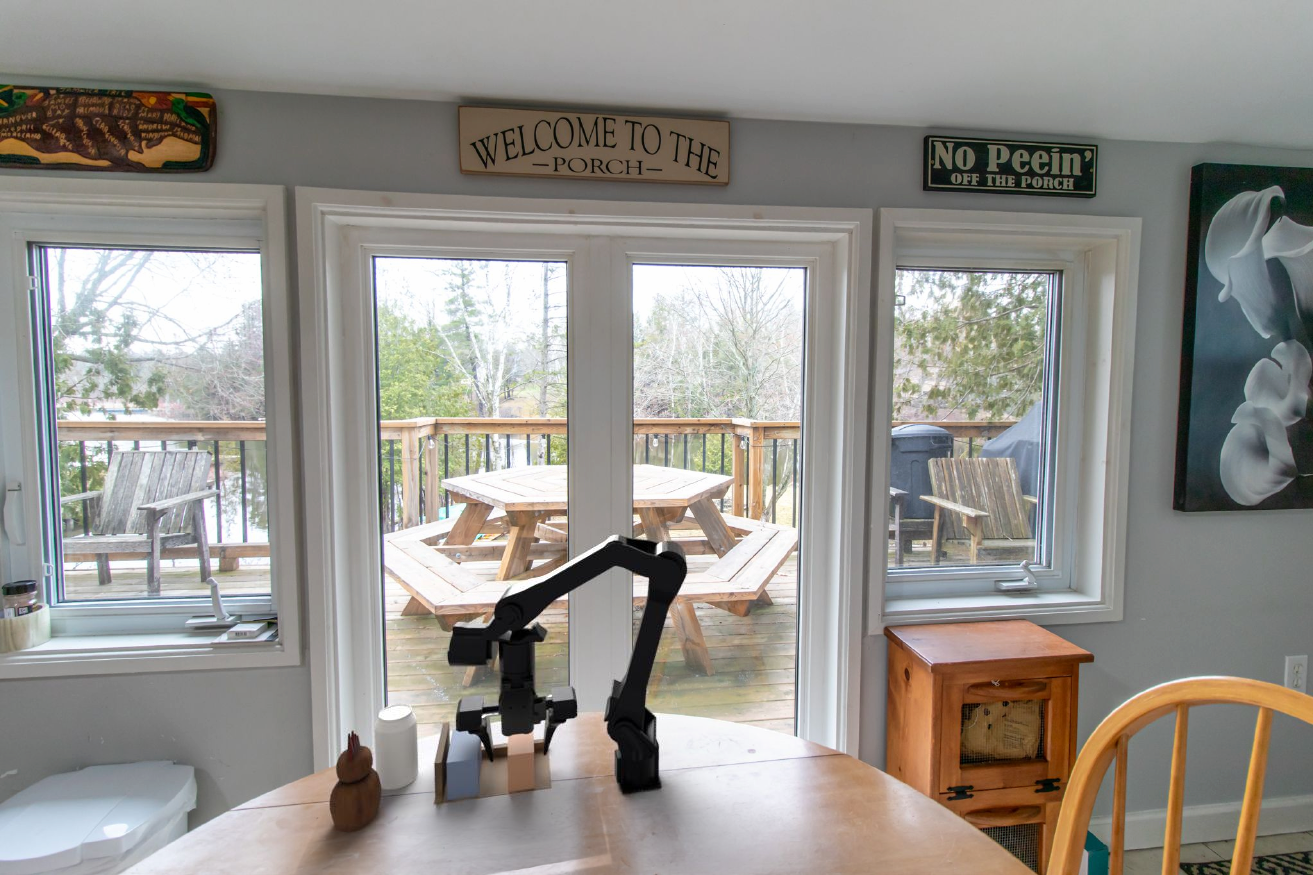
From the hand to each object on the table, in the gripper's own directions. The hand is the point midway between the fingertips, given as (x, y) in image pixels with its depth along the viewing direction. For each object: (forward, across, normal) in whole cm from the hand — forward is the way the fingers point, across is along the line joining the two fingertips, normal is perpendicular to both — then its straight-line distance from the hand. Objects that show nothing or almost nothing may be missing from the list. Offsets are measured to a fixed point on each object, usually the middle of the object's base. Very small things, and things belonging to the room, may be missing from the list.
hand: (518, 757), depth 98 cm
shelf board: (+4, -4, 0) cm, 5 cm away
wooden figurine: (+4, -23, -6) cm, 24 cm away
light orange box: (+2, 0, 0) cm, 3 cm away
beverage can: (+4, -19, +3) cm, 20 cm away
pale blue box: (+2, -8, 0) cm, 9 cm away
